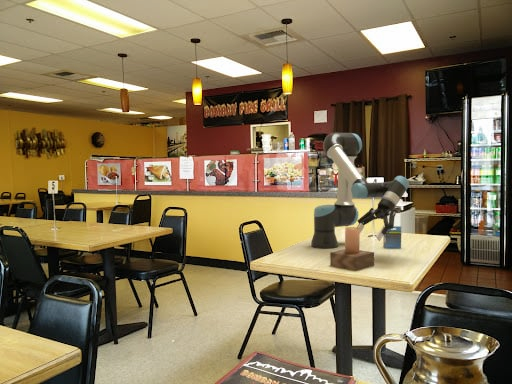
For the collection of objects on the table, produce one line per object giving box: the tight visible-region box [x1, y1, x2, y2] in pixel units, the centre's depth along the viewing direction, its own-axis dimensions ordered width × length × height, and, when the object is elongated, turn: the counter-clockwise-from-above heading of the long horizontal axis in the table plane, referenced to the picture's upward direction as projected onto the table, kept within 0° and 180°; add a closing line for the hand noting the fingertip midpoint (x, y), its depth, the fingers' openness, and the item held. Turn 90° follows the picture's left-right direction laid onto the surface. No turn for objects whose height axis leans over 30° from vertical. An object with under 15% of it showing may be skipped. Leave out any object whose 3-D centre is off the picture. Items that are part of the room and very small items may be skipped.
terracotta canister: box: [344, 226, 361, 254], centre depth 188 cm, size 6×6×11 cm
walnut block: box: [329, 248, 375, 272], centre depth 188 cm, size 14×14×6 cm
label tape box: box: [382, 225, 402, 249], centre depth 230 cm, size 9×4×12 cm, turn 92°
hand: (366, 237), depth 193 cm, fingers open, 13 cm apart
